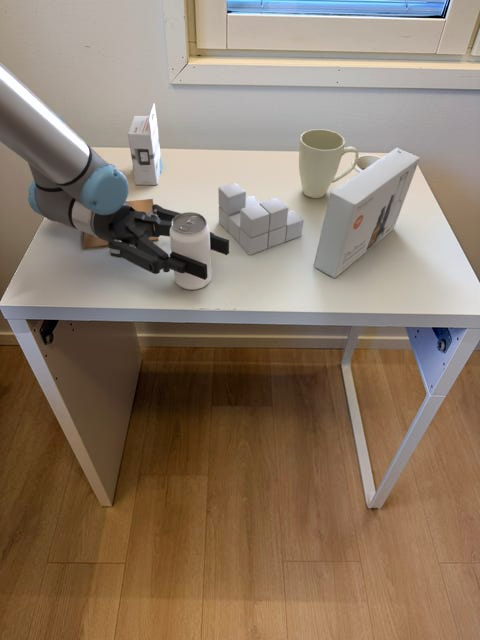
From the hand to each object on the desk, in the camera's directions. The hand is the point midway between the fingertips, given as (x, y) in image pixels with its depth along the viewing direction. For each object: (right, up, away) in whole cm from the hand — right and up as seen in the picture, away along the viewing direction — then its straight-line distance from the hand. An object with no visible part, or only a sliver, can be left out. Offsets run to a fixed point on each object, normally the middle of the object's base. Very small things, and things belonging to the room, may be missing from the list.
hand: (217, 259), depth 76 cm
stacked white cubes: (+8, +8, +17) cm, 20 cm away
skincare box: (+26, +4, +13) cm, 30 cm away
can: (-5, -3, +6) cm, 8 cm away
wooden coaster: (-20, +10, +17) cm, 28 cm away
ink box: (-17, +23, +29) cm, 41 cm away
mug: (+21, +18, +26) cm, 38 cm away
